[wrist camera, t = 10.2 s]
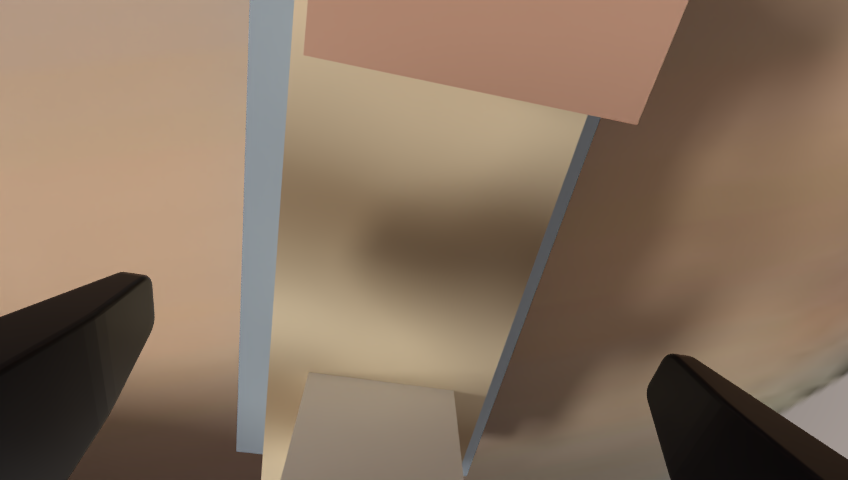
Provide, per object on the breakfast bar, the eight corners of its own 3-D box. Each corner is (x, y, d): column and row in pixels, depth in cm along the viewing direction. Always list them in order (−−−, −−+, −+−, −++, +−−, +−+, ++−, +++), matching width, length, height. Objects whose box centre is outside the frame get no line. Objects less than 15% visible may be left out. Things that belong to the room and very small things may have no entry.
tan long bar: (425, 455, 20) (429, 553, 17) (284, 440, 20) (257, 538, 16) (667, -337, 9) (821, -533, 6) (370, -436, 9) (344, -727, 5)
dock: (460, 429, 23) (466, 476, 21) (253, 405, 22) (236, 451, 20) (712, -304, 11) (784, -375, 9) (296, -442, 10) (267, -560, 8)
